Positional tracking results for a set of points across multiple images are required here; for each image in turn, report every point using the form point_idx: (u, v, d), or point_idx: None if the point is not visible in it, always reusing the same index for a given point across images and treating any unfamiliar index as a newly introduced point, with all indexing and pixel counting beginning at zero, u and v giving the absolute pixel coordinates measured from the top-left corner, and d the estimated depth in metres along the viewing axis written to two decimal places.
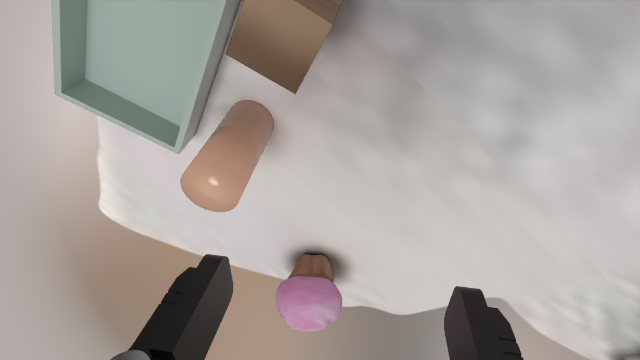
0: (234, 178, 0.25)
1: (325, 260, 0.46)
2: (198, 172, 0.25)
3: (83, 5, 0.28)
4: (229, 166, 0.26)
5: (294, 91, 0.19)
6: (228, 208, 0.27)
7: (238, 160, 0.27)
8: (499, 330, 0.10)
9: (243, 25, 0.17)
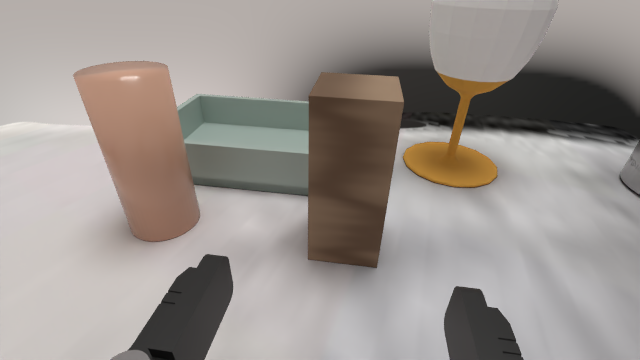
0: (144, 87, 0.18)
1: None
2: (157, 66, 0.20)
3: (268, 123, 0.37)
4: (160, 94, 0.19)
5: (311, 95, 0.16)
6: (81, 78, 0.17)
7: (160, 116, 0.19)
8: (499, 330, 0.10)
9: (355, 76, 0.19)
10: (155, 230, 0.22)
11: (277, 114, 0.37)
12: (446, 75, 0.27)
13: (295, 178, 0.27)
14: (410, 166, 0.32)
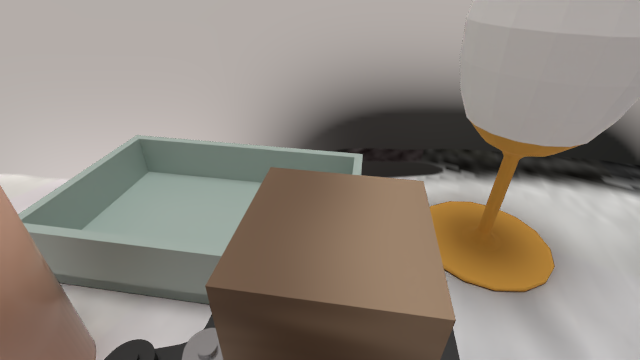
0: None
1: None
2: None
3: (233, 174, 0.28)
4: None
5: (213, 282, 0.06)
6: None
7: None
8: None
9: (335, 180, 0.09)
10: None
11: (243, 163, 0.27)
12: (487, 131, 0.17)
13: None
14: None
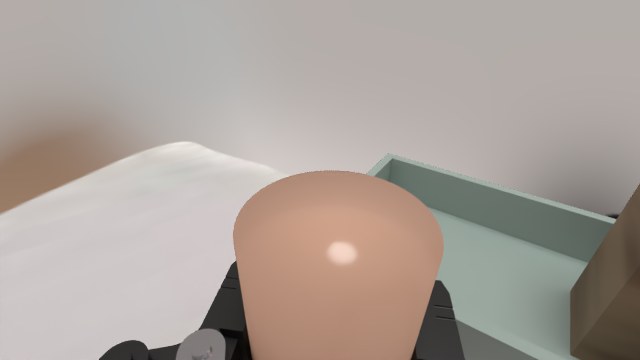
0: (393, 318, 0.06)
1: None
2: (412, 214, 0.08)
3: (490, 222, 0.23)
4: (418, 316, 0.07)
5: None
6: (247, 252, 0.07)
7: (398, 359, 0.07)
8: (439, 299, 0.10)
9: None
10: None
11: (513, 214, 0.22)
12: None
13: None
14: None
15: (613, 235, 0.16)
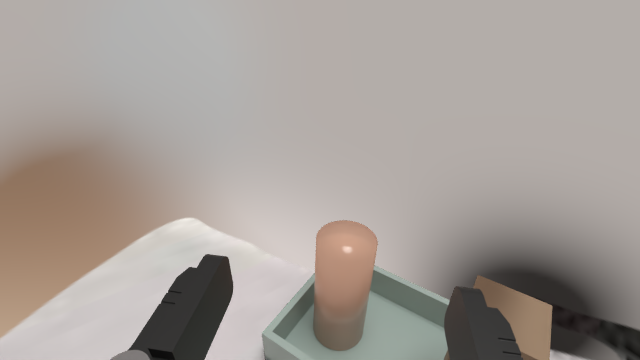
0: (361, 265, 0.24)
1: None
2: (369, 237, 0.26)
3: (404, 304, 0.33)
4: (369, 266, 0.25)
5: None
6: (322, 247, 0.25)
7: (363, 279, 0.25)
8: (499, 330, 0.10)
9: (508, 292, 0.22)
10: (332, 342, 0.29)
11: (416, 301, 0.32)
12: None
13: None
14: None
15: None
